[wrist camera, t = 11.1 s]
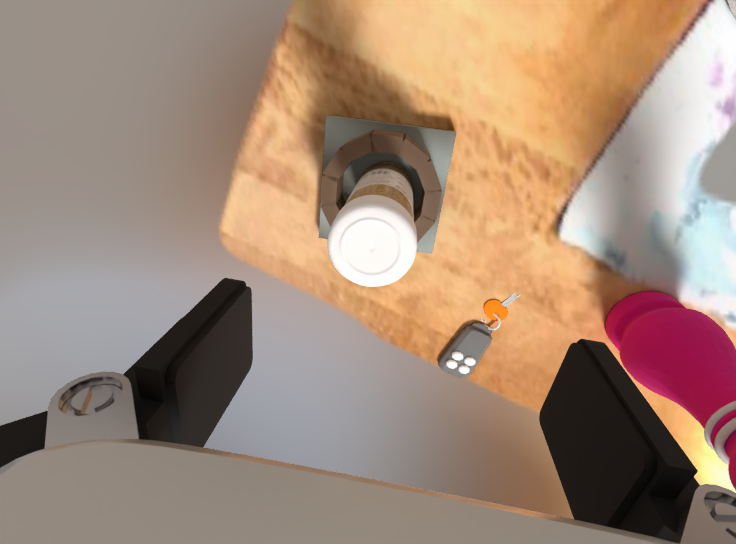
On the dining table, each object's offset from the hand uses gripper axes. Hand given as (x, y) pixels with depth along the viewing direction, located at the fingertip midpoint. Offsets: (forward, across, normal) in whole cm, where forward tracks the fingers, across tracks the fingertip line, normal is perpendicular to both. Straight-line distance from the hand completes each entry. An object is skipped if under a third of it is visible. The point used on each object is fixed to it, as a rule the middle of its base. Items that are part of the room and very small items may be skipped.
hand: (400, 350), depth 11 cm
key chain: (+23, -9, +12) cm, 28 cm away
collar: (+23, +2, +1) cm, 23 cm away
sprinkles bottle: (+22, +2, +1) cm, 22 cm away
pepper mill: (+23, -23, +9) cm, 34 cm away
